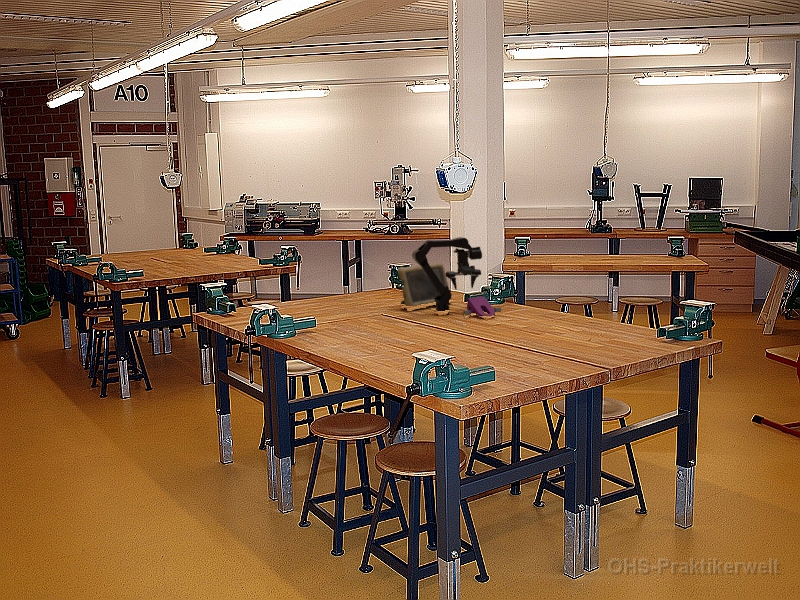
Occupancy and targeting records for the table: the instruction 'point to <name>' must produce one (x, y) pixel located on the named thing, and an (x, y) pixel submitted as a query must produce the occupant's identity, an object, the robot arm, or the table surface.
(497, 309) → the stop blocks
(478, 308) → the mounting bracket
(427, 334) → the table surface
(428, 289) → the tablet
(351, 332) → the table surface
